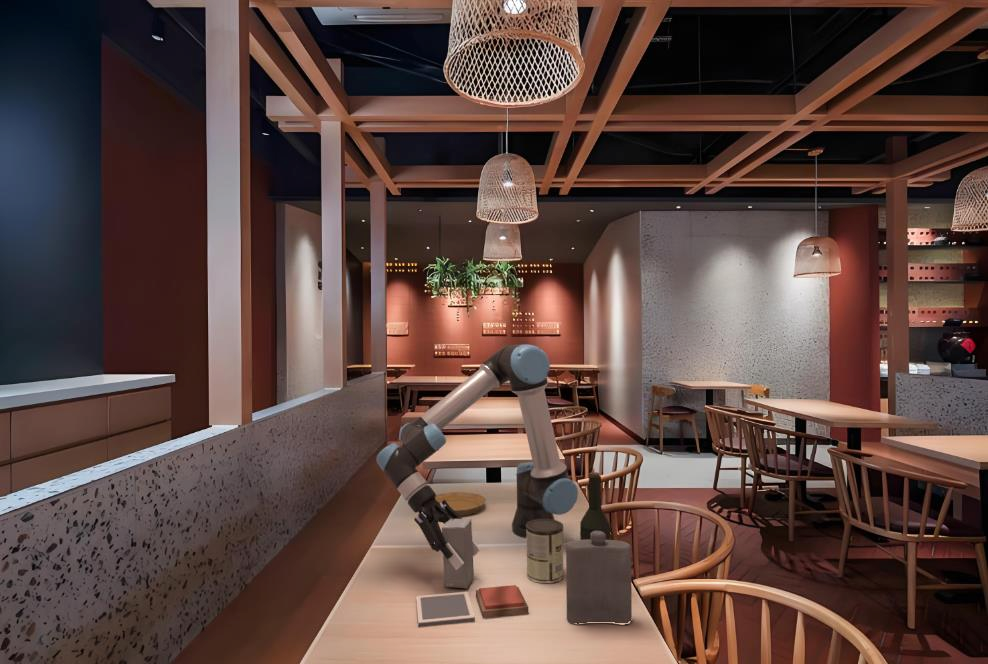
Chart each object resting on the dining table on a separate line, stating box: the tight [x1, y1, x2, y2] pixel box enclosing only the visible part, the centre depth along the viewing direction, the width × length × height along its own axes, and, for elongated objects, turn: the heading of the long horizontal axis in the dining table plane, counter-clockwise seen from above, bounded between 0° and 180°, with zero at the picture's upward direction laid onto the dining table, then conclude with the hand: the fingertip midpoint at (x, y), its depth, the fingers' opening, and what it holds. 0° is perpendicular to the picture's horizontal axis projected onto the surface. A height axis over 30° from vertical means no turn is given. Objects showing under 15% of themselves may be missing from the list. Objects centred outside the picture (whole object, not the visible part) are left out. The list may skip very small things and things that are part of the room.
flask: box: [565, 531, 633, 624], centre depth 128 cm, size 15×6×20 cm, turn 88°
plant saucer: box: [435, 491, 487, 517], centre depth 212 cm, size 24×24×3 cm
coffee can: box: [525, 519, 565, 584], centre depth 151 cm, size 10×10×14 cm
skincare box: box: [441, 518, 475, 589], centre depth 147 cm, size 8×7×16 cm
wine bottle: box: [579, 471, 612, 540], centre depth 143 cm, size 8×8×30 cm
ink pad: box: [475, 584, 529, 619], centre depth 134 cm, size 11×11×2 cm
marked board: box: [415, 591, 476, 628], centre depth 132 cm, size 13×13×1 cm
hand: (468, 559), depth 145 cm, fingers closed on skincare box, 9 cm apart
